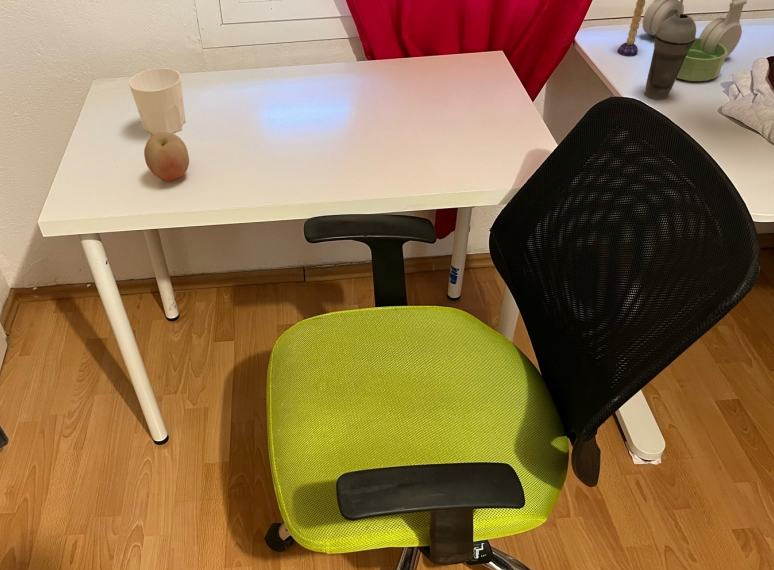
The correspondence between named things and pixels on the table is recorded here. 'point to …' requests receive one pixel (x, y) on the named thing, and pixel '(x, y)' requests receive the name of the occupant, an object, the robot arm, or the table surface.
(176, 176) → the fruit
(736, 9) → the headphones
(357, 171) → the table surface
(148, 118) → the cup
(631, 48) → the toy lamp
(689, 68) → the bowl
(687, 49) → the beverage cup
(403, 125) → the table surface
